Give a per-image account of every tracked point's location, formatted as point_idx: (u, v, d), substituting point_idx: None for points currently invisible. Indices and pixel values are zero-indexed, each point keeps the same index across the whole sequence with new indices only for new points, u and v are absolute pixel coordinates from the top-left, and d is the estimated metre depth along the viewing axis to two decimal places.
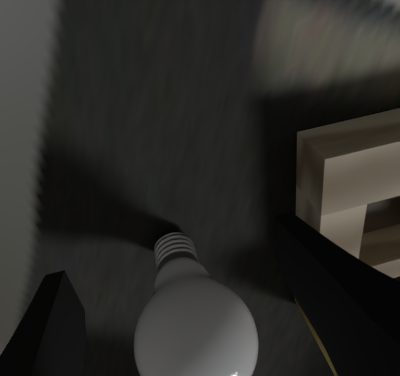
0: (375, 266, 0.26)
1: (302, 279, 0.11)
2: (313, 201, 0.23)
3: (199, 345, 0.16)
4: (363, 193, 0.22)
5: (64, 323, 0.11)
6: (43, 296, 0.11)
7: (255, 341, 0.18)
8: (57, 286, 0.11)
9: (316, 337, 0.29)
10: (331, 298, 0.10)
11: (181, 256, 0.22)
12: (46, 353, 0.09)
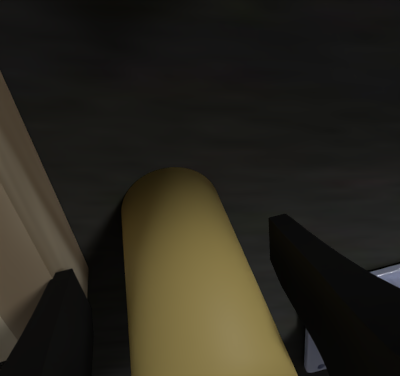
0: None
1: (296, 280, 0.11)
2: None
3: None
4: None
5: (72, 321, 0.11)
6: (52, 294, 0.11)
7: None
8: (65, 284, 0.11)
9: None
10: (323, 300, 0.10)
11: None
12: (56, 350, 0.09)
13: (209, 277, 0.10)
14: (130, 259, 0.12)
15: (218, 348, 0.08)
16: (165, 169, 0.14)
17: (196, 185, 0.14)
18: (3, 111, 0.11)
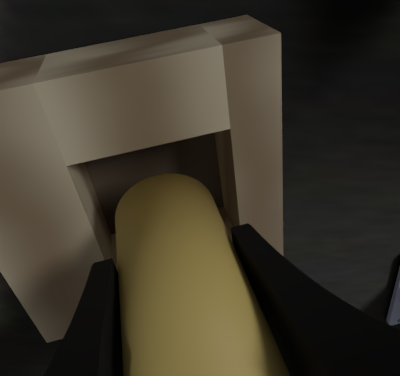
0: (241, 221, 0.16)
1: (255, 292, 0.11)
2: None
3: None
4: None
5: (116, 309, 0.11)
6: (96, 282, 0.11)
7: None
8: (108, 273, 0.11)
9: None
10: (276, 314, 0.10)
11: None
12: (107, 336, 0.09)
13: (200, 291, 0.09)
14: (122, 274, 0.11)
15: (208, 370, 0.08)
16: (156, 176, 0.14)
17: (188, 191, 0.13)
18: None
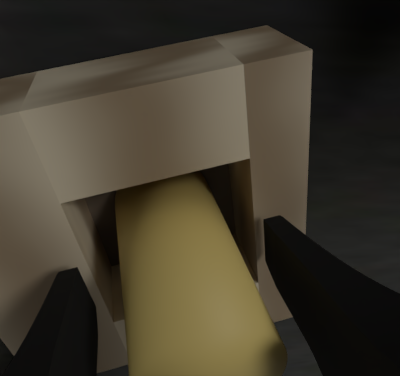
0: (259, 257, 0.15)
1: (290, 282, 0.11)
2: None
3: None
4: None
5: (78, 319, 0.11)
6: (57, 292, 0.11)
7: None
8: (71, 282, 0.11)
9: None
10: (317, 302, 0.10)
11: None
12: (62, 349, 0.09)
13: (195, 257, 0.10)
14: (123, 249, 0.12)
15: (203, 320, 0.08)
16: None
17: (183, 174, 0.14)
18: None
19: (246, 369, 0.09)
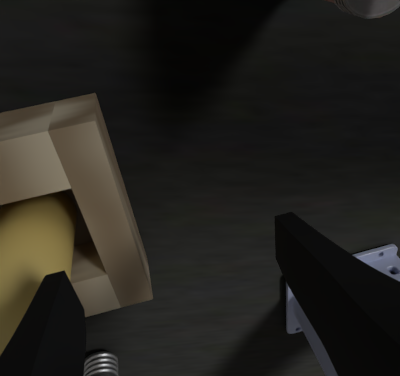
0: (101, 255, 0.20)
1: (302, 279, 0.11)
2: None
3: None
4: None
5: (64, 323, 0.11)
6: (43, 296, 0.11)
7: None
8: (57, 286, 0.11)
9: None
10: (331, 298, 0.10)
11: None
12: (46, 353, 0.09)
13: (14, 254, 0.16)
14: None
15: None
16: None
17: (43, 196, 0.20)
18: (118, 174, 0.20)
19: None
